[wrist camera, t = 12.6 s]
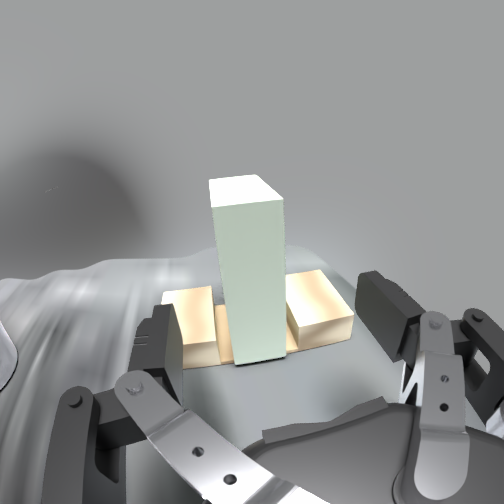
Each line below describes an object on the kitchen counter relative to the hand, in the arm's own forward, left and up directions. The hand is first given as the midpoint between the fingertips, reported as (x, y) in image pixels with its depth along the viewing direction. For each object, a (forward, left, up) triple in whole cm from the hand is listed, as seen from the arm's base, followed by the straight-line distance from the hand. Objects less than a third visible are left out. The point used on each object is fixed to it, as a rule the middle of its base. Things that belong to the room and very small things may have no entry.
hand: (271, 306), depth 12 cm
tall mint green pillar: (-4, +7, -8) cm, 11 cm away
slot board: (-4, +7, -8) cm, 11 cm away
